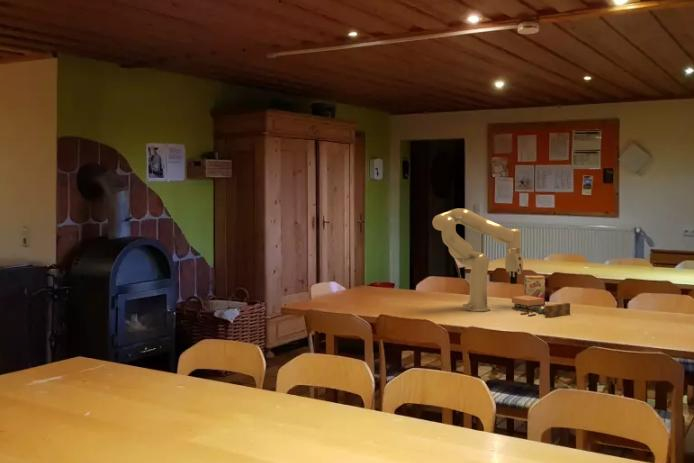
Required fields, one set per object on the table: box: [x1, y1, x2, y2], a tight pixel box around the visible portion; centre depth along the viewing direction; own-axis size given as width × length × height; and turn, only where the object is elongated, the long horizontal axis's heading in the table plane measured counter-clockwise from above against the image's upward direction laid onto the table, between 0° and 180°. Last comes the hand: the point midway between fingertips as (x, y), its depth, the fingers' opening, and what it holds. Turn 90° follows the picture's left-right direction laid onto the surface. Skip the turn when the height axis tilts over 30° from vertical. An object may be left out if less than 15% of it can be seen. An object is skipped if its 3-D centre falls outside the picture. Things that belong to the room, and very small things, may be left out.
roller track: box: [511, 303, 545, 316], centre depth 387 cm, size 9×25×4 cm, turn 30°
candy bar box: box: [523, 275, 546, 306], centre depth 407 cm, size 11×5×16 cm, turn 84°
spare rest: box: [520, 311, 537, 318], centre depth 377 cm, size 5×6×1 cm
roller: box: [536, 306, 545, 315], centre depth 382 cm, size 7×3×4 cm, turn 120°
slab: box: [511, 295, 544, 306], centre depth 392 cm, size 11×13×3 cm
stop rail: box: [544, 302, 571, 319], centre depth 373 cm, size 16×2×6 cm, turn 120°
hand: (513, 283), depth 401 cm, fingers closed
